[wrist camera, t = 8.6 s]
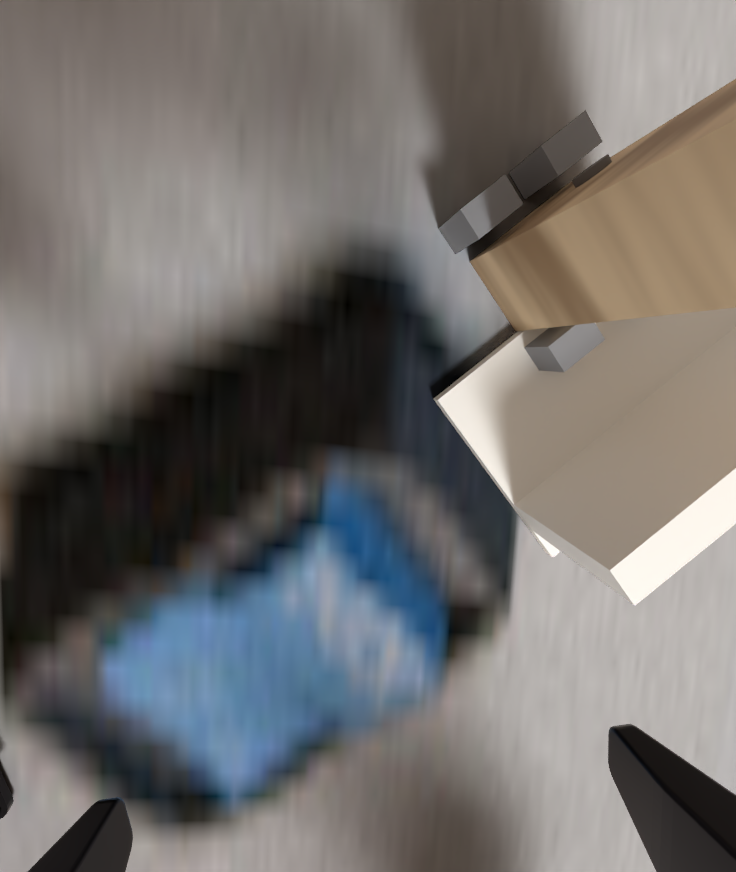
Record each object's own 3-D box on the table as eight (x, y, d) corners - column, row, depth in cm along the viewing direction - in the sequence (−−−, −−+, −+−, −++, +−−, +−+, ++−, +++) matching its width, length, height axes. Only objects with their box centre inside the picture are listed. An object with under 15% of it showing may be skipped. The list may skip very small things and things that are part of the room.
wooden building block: (515, 331, 20) (831, 297, 8) (466, 256, 19) (740, 98, 7) (606, 258, 20) (1048, 121, 8) (561, 180, 19) (982, -95, 7)
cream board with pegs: (545, 552, 22) (659, 641, 15) (356, 293, 19) (391, 257, 12) (775, 366, 22) (990, 372, 15) (628, 77, 19) (819, -80, 12)
